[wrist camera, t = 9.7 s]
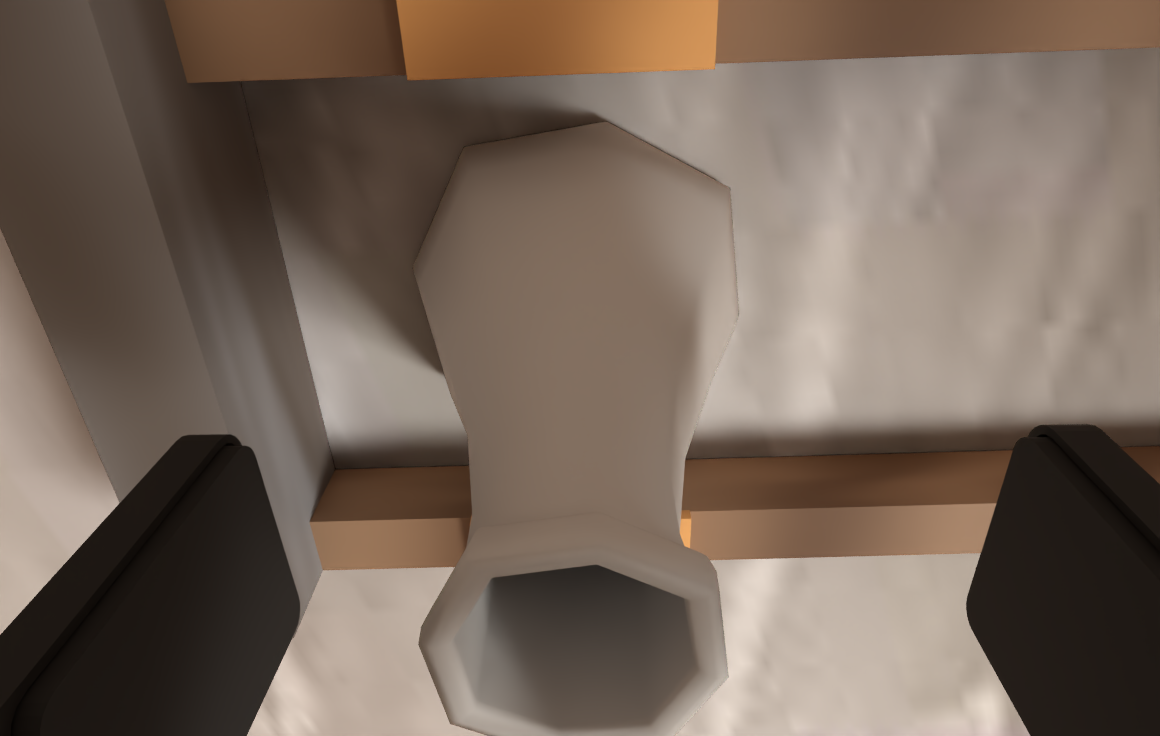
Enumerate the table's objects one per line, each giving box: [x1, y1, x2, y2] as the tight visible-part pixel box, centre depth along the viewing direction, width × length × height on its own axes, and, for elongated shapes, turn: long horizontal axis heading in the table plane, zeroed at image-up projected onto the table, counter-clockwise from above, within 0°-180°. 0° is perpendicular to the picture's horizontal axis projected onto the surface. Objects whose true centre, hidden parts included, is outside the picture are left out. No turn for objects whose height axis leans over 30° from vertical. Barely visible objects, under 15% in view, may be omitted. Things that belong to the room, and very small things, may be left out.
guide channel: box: [0, 0, 1160, 638], centre depth 14 cm, size 29×13×4 cm, turn 92°
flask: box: [413, 122, 739, 736], centre depth 12 cm, size 7×7×10 cm
